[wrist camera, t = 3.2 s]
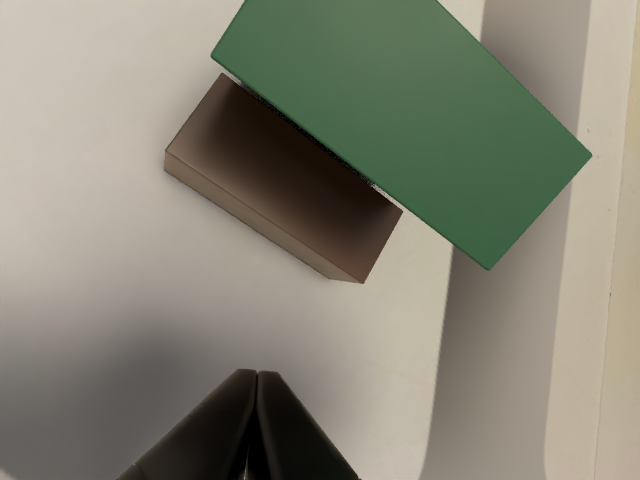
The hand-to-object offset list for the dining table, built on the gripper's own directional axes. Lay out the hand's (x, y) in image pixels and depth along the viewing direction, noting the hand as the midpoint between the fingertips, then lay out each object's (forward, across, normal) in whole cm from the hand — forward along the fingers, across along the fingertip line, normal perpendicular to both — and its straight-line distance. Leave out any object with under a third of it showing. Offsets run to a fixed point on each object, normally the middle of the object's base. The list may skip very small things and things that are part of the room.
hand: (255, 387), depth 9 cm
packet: (+16, +3, +5) cm, 17 cm away
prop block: (+14, 0, 0) cm, 14 cm away
